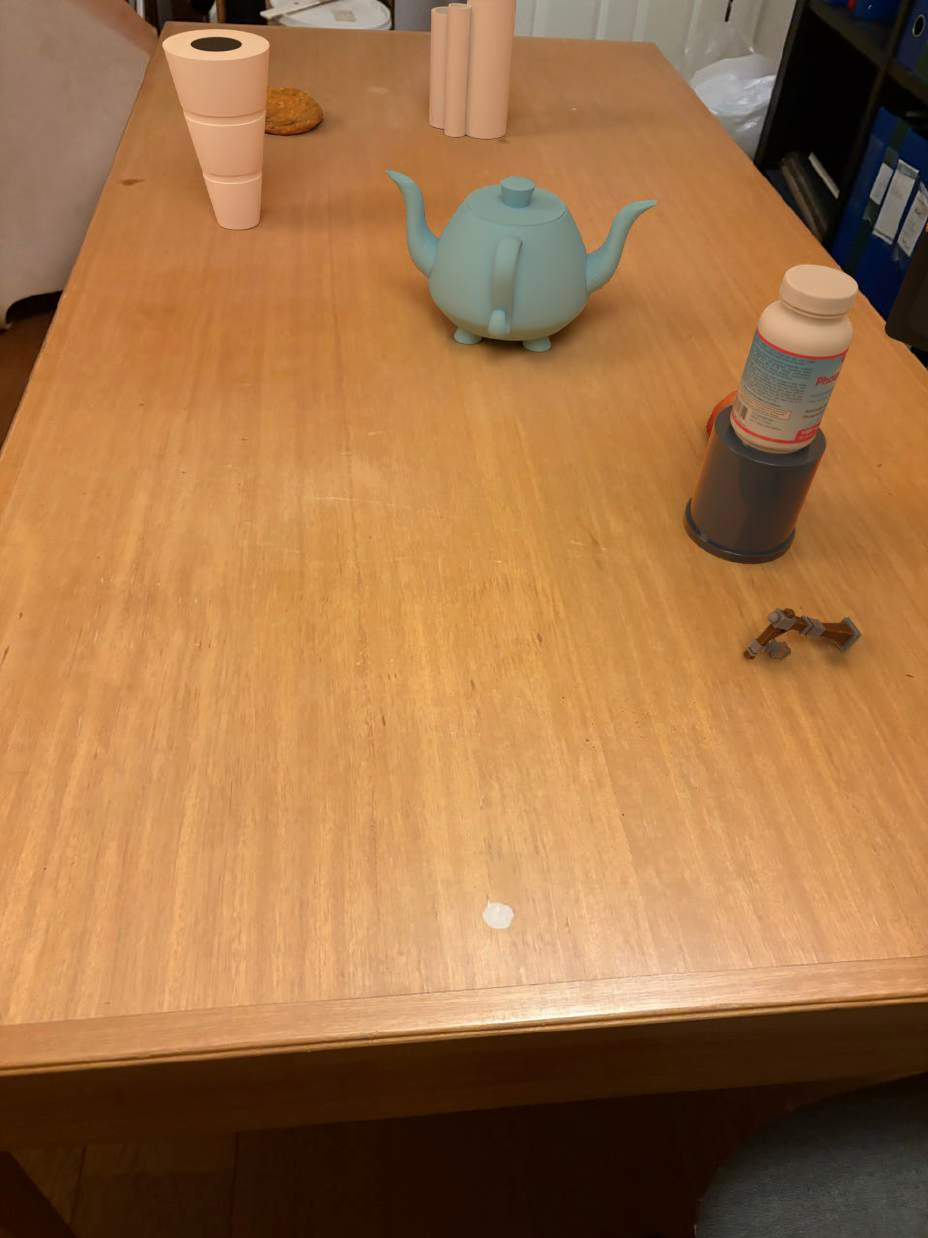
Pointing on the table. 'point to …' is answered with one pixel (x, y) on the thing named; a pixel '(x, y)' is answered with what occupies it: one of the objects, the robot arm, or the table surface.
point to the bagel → (290, 111)
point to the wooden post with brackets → (786, 621)
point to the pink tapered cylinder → (224, 114)
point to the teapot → (511, 260)
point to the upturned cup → (749, 495)
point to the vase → (471, 67)
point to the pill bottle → (795, 359)
